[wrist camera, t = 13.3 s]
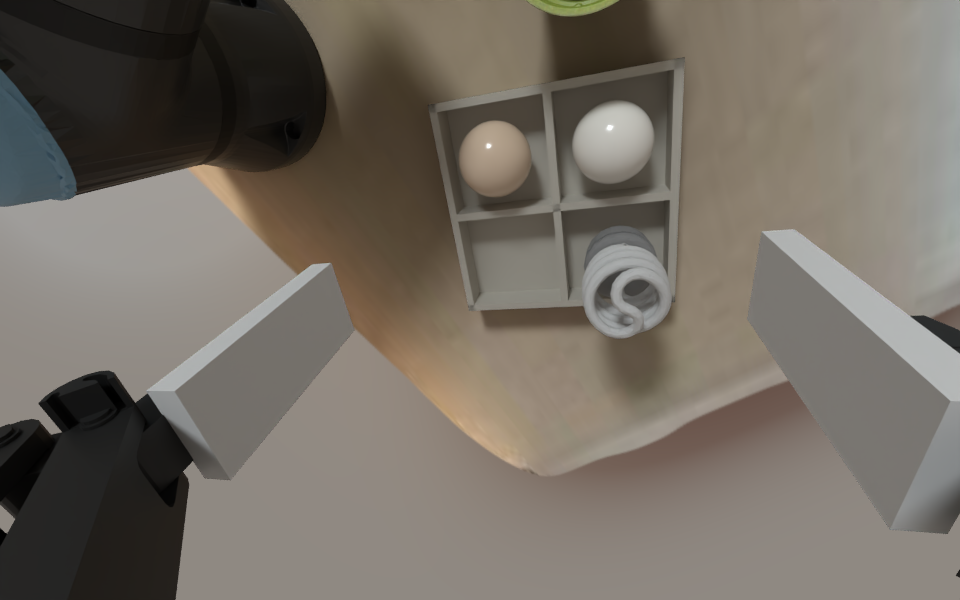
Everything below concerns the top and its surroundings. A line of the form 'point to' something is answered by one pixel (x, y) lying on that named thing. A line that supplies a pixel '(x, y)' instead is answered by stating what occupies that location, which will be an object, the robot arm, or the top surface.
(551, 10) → the plant pot
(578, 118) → the carton
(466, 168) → the brown egg
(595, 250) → the light bulb
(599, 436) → the top surface
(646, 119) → the white egg
